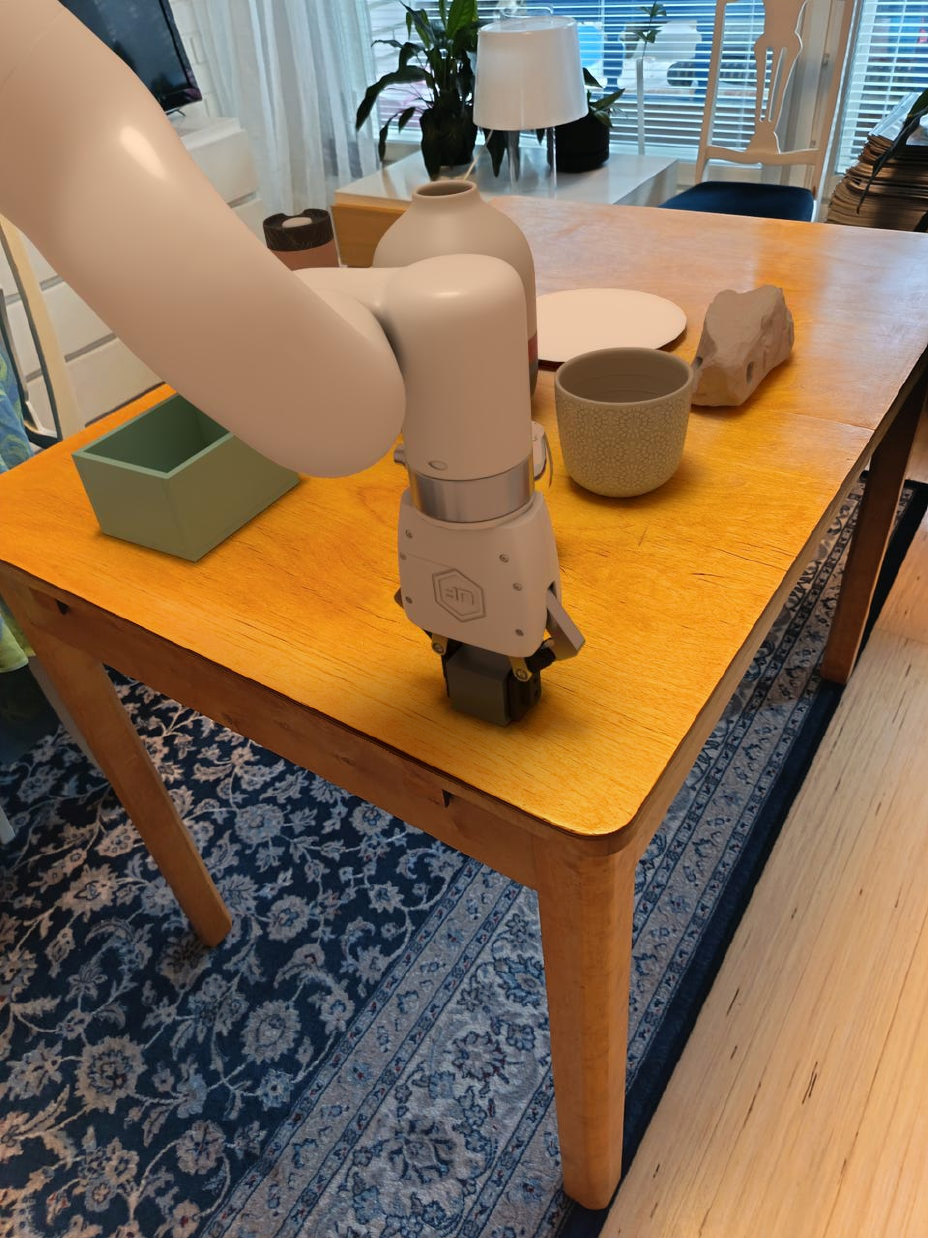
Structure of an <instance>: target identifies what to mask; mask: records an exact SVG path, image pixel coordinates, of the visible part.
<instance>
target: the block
mask: <svg viewBox="0 0 928 1238" xmlns="http://www.w3.org/2000/svg"><path fill="white" fill-rule="evenodd" d="M446 668H447V676H448V683H449V690H450V697H451V698H450V705H451V709H452V710H454V711H457V712H460V713H463V714H465V715H468V716H470V717H474V718H477V719H480V720H482V721H484V722H485V721H486V722H488V723H491V724H494V725H497V726H499V727H503V728H507V726H508V724H509V723H510V722H511V721H512V719H511V717H510V712H509V700H508V688H507V679H508V677H509V676H510V674H511V673H512V672H513V671H512V668H511V665H510V662H509V659H508V656H507V655H504V654H501V653H497V652H494V651H490V650H487V649H484V648H480V647H477V646H474V645H470V644H467V643H463V644H462V645H461V647H460V648H459V649H458V650H457V651H456V652H455V654H454V655H453V656H452V657H451V658H450V659H449V661H448V662H447V663H446Z"/></svg>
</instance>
